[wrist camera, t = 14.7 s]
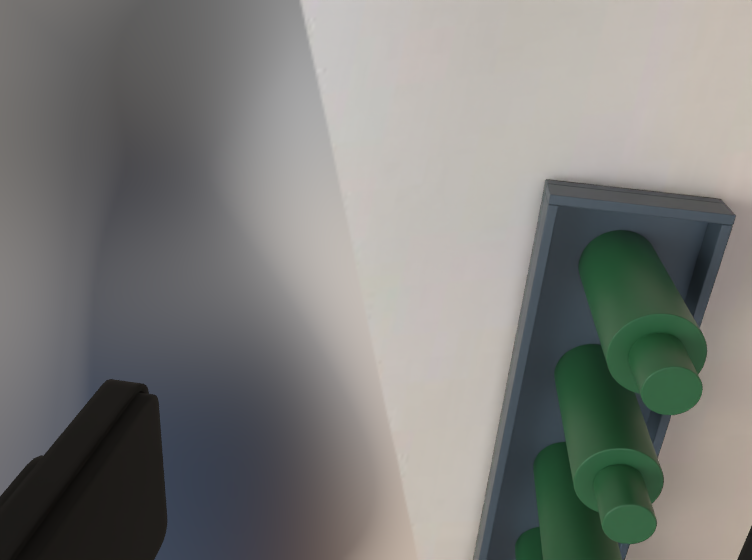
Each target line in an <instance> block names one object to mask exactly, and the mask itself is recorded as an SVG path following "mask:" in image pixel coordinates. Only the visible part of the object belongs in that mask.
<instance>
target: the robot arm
mask: <svg viewBox="0 0 752 560" xmlns="http://www.w3.org/2000/svg"><path fill="white" fill-rule="evenodd" d="M166 528H167V509H166V497H165V482H164V470H163V456H162V441H161V429H160V414H159V402H158V398H157V396H156V395H153V394H149V392H148V388H147V386H146V385H144V384H141V383H134V382H126V381H119V380H113V379H110V380H107V381H106V382H105V383H103V385H102V386H101V387H100V388H99V389H98V391H97V392H96V393H95V394H94V395H93V397H92V398H91V399H90V400H89V401H88V403H87V404H86V405H85V406H84V408H83V409H82V410H81V411H80V412H79V414H78V415H77V416H76V417H75V418H74V420H73V421H72V422H71V423H70V424H69V426H68V427H67V428H66V429H65V431H64V432H63V433H62V434H61V435H60V436H59V438H58V439H57V440H56V441H55V443H54V444H53V445H52V446H51V447H50V449H49V450H48V451H47V452H46V453H45V455H44V456H39V457H36V458H34V459H33V460H32V461H31V462H30V463H29V464H27V466H26V467H25V468H24V469H23V470H22V471H21V472H20V474H19V475H18V476H17V477H16V479H15V480H14V481H13V482H12V483H11V484H10V486H9V487H8V488H7V489H6V490H5V491H4V493H3V494H2V495H1V496H0V560H154V559H155V557H156V555H157V553H158V551H159V549H160V547H161V545H162V543H163V540H164V537H165V534H166ZM738 560H752V526H751V529H750V531H749V533H748V536H747V538H746V541H745V543H744V545H743V548H742V550H741V552H740V555H739V557H738Z"/></svg>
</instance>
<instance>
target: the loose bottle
mask: <svg viewBox="0 0 752 560" xmlns="http://www.w3.org/2000/svg"><path fill="white" fill-rule="evenodd" d="M579 275H580V278H581V281H582V285H583V288H584V291H585V294H586V298H587V301H588V304H589V307H590V311H591V314H592V317H593V320H594V324H595V327H596V330H597V333H598V337H599V340H600V343H601V346H602V350H603V353H604V356H605V360H606V363H607V366H608V369H609V371H610V373H611V375H612V377H613V378H614V379H615V380H616V381H617V382H618V383H619V384H620V385H621V386H623V387H624V388H626V389H628V390H630V391H632V392H635V393H639V394H640V395H641V398H642V401H643V403H644V404H645V405H646V406H647V407H648V408H649V409H650V410H652V411H654V412H656V413H658V414H662V415H676V414H681V413H684V412H686V411H688V410H689V409H691V408H692V407H694V406H695V405H696V404H697V402H698V401H699V399H700V397H701V395H702V390H703V387H702V382H701V380H700V378H699V376H698V374H699V372H700V371H701V369H702V368H703V365H704V363H705V360H706V356H707V345H706V341H705V338H704V336H703V334H702V332H701V330H700V329H699V327H698V325H697V323H696V321H695V320H694V318H693V316H692V314H691V313H690V311H689V309H688V307H687V306H686V304H685V302H684V300H683V299H682V297H681V295H680V293H679V292H678V290H677V288H676V286H675V285H674V283H673V281H672V279H671V278H670V276H669V274H668V272H667V271H666V269H665V267H664V265H663V264H662V262H661V260H660V258H659V257H658V255H657V253H656V251H655V250H654V248H653V246H652V245H651V243H650V242H649V241H648V240H647V239H646V238H645V237H643V236H641V235H640V234H637V233H635V232H632V231H627V230H615V231H610V232H607V233H604V234H602V235H600V236H598V237H596V238H595V239H593V240H592V241H591V242H590V243H589V244H588V245H587V246H586V247H585V249H584V250H583V252H582V254H581V256H580V260H579Z"/></svg>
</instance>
